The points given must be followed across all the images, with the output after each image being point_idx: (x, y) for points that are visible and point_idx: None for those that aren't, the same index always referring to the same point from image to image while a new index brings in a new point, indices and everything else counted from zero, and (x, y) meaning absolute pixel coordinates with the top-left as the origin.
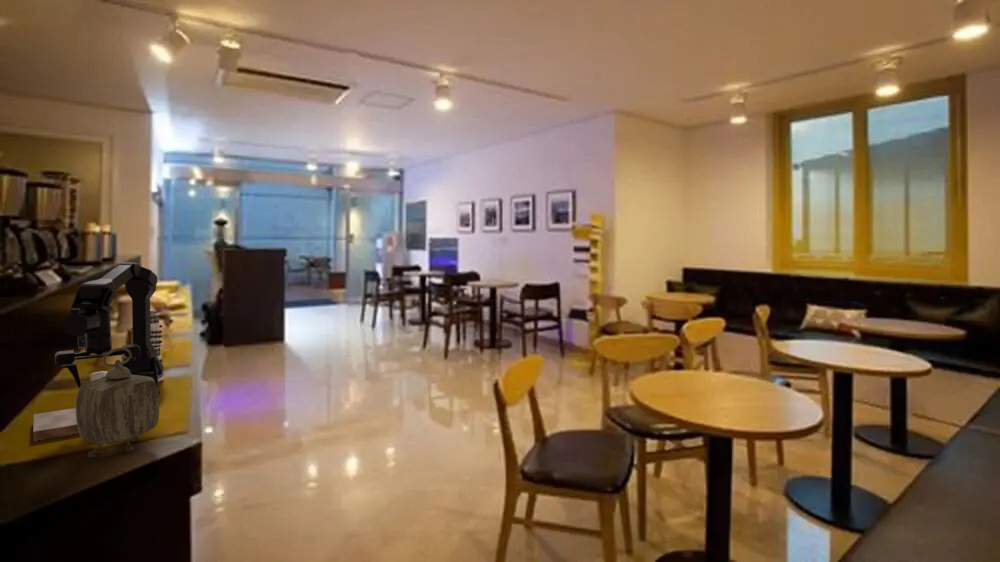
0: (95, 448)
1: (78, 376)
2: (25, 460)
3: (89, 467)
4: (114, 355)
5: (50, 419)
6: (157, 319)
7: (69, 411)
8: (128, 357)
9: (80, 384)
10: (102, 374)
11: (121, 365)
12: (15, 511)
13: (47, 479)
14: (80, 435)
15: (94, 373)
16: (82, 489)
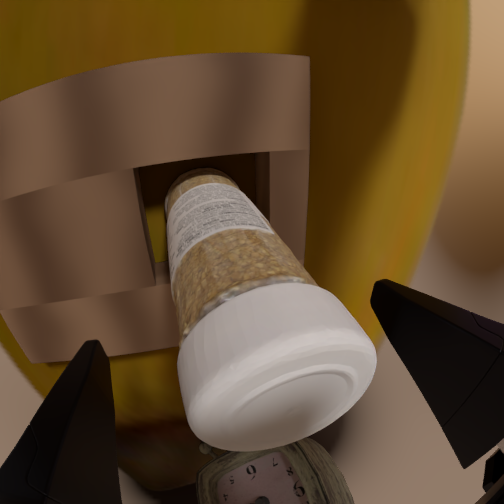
0: (213, 457)
1: (115, 479)
2: None
3: (204, 456)
4: (486, 495)
5: (14, 250)
6: None
7: (53, 138)
8: (487, 459)
9: (112, 395)
10: (297, 439)
11: (464, 392)
12: (155, 490)
13: (158, 467)
14: (197, 483)
15: (235, 422)
16: None
